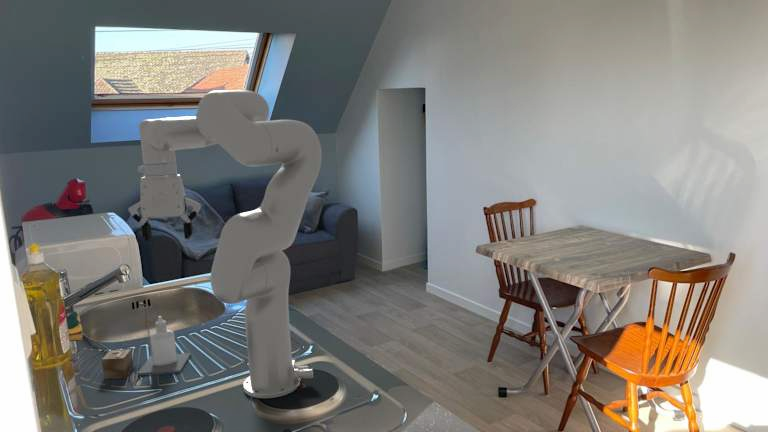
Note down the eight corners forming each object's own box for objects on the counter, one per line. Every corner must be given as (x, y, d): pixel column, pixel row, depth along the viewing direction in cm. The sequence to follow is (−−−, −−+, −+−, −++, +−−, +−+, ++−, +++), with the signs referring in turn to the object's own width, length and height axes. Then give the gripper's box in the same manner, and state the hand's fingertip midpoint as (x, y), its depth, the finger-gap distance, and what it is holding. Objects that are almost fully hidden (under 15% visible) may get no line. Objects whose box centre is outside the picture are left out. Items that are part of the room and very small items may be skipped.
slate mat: (191, 355, 149) (190, 353, 149) (180, 372, 139) (180, 370, 139) (151, 357, 148) (150, 355, 148) (137, 375, 139) (137, 373, 139)
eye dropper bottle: (171, 366, 141) (166, 319, 139) (150, 366, 142) (144, 319, 140) (180, 359, 146) (175, 313, 143) (159, 358, 146) (153, 313, 144)
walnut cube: (133, 368, 143) (130, 348, 142) (126, 377, 138) (123, 357, 137) (112, 369, 143) (109, 349, 142) (104, 379, 138) (101, 358, 137)
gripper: (118, 173, 138) (127, 244, 141) (193, 170, 139) (200, 240, 142) (129, 170, 145) (137, 237, 148) (200, 167, 146) (207, 233, 149)
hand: (168, 238), depth 145 cm, fingers open, 9 cm apart
